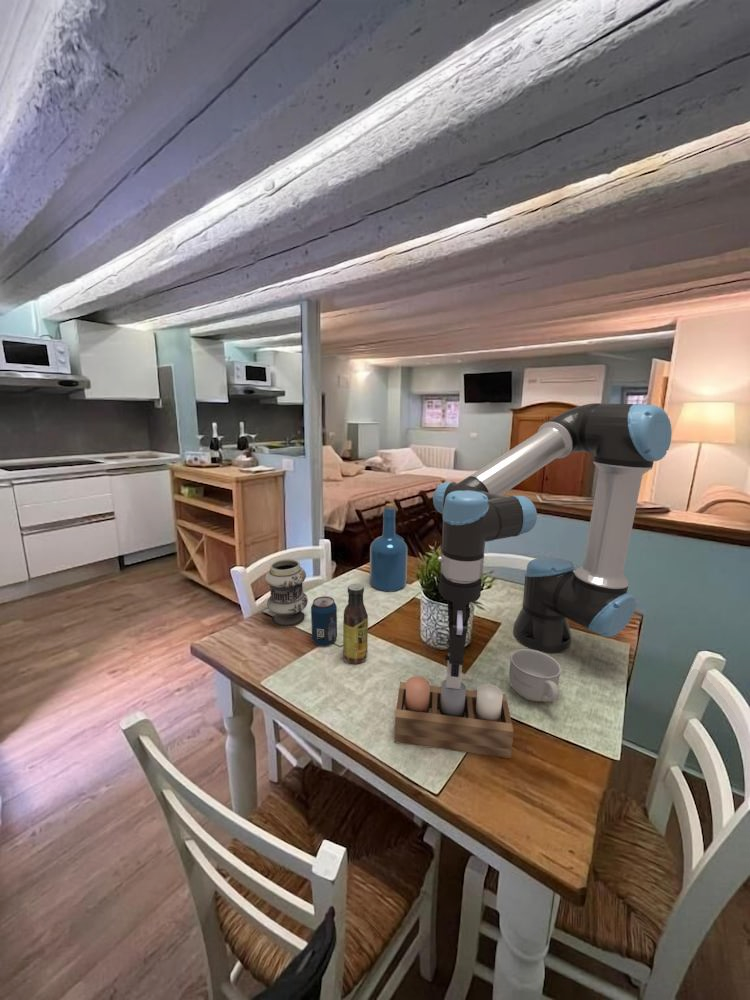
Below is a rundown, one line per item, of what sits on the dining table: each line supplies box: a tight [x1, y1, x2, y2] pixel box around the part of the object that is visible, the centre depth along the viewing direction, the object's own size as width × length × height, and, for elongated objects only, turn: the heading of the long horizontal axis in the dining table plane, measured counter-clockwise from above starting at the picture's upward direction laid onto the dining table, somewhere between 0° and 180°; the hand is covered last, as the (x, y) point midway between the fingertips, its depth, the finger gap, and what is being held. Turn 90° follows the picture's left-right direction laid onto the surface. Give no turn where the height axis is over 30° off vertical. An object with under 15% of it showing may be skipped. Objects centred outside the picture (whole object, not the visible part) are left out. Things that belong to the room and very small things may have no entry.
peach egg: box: [405, 675, 431, 713], centre depth 82 cm, size 5×5×6 cm
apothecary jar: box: [265, 558, 309, 629], centre depth 122 cm, size 12×12×18 cm
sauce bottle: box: [342, 583, 369, 665], centre depth 103 cm, size 6×6×20 cm
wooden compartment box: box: [393, 681, 515, 759], centre depth 82 cm, size 22×10×6 cm, turn 81°
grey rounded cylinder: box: [440, 679, 467, 717], centre depth 81 cm, size 5×5×6 cm
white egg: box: [475, 683, 504, 722], centre depth 80 cm, size 5×5×6 cm
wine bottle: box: [369, 503, 409, 592], centre depth 144 cm, size 14×13×30 cm
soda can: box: [310, 595, 338, 647], centre depth 112 cm, size 7×7×12 cm
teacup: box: [508, 648, 562, 702], centre depth 92 cm, size 14×11×8 cm
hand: (453, 685), depth 80 cm, fingers closed
